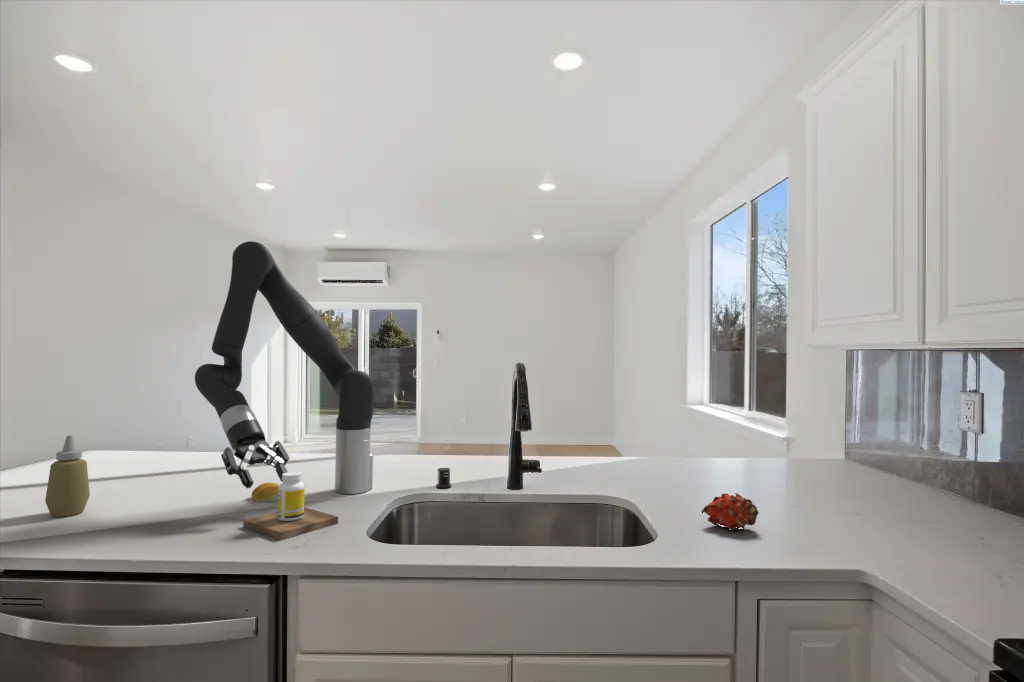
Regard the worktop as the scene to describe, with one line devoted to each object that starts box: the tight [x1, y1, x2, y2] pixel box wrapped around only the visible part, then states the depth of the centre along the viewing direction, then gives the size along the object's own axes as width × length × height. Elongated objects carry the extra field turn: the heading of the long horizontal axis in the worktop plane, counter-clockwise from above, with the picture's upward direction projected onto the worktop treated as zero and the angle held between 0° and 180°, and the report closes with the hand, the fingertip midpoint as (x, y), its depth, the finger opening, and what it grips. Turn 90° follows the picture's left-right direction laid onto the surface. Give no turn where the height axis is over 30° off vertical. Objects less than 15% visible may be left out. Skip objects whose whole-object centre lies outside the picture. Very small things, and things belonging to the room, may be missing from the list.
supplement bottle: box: [277, 471, 305, 521], centre depth 122 cm, size 5×5×10 cm
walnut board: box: [242, 506, 339, 541], centre depth 121 cm, size 14×14×2 cm
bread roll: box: [251, 482, 280, 503], centre depth 143 cm, size 8×9×4 cm
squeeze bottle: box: [44, 435, 91, 518], centre depth 128 cm, size 8×8×18 cm
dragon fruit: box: [701, 492, 760, 530], centre depth 123 cm, size 8×8×12 cm
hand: (268, 482), depth 127 cm, fingers open, 8 cm apart
